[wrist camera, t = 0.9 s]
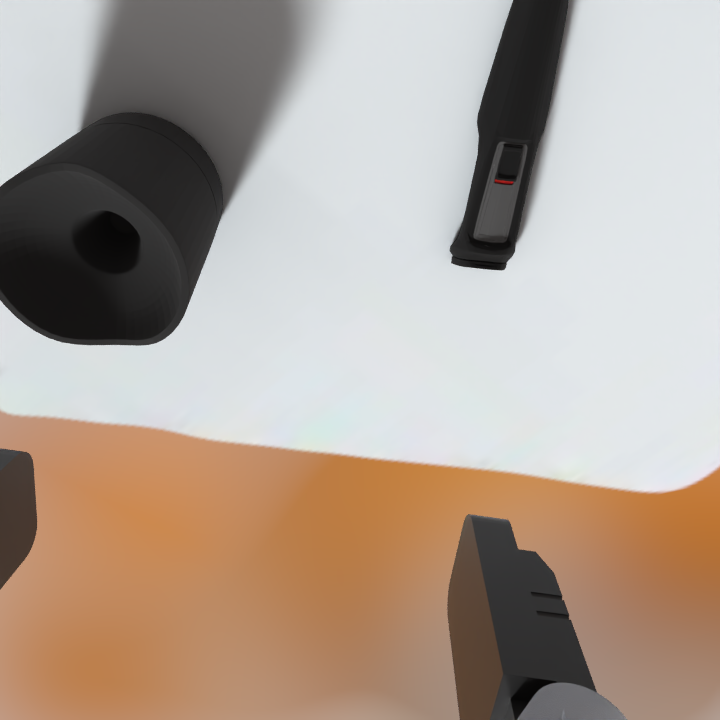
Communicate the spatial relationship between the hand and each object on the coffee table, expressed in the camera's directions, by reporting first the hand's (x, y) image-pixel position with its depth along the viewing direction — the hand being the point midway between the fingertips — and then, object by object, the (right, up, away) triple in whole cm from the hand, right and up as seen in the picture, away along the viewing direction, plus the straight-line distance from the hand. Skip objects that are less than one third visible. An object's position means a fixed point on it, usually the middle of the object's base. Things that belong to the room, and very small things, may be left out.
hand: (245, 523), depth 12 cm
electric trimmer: (+10, +15, +23) cm, 29 cm away
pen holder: (-10, +13, +25) cm, 30 cm away
